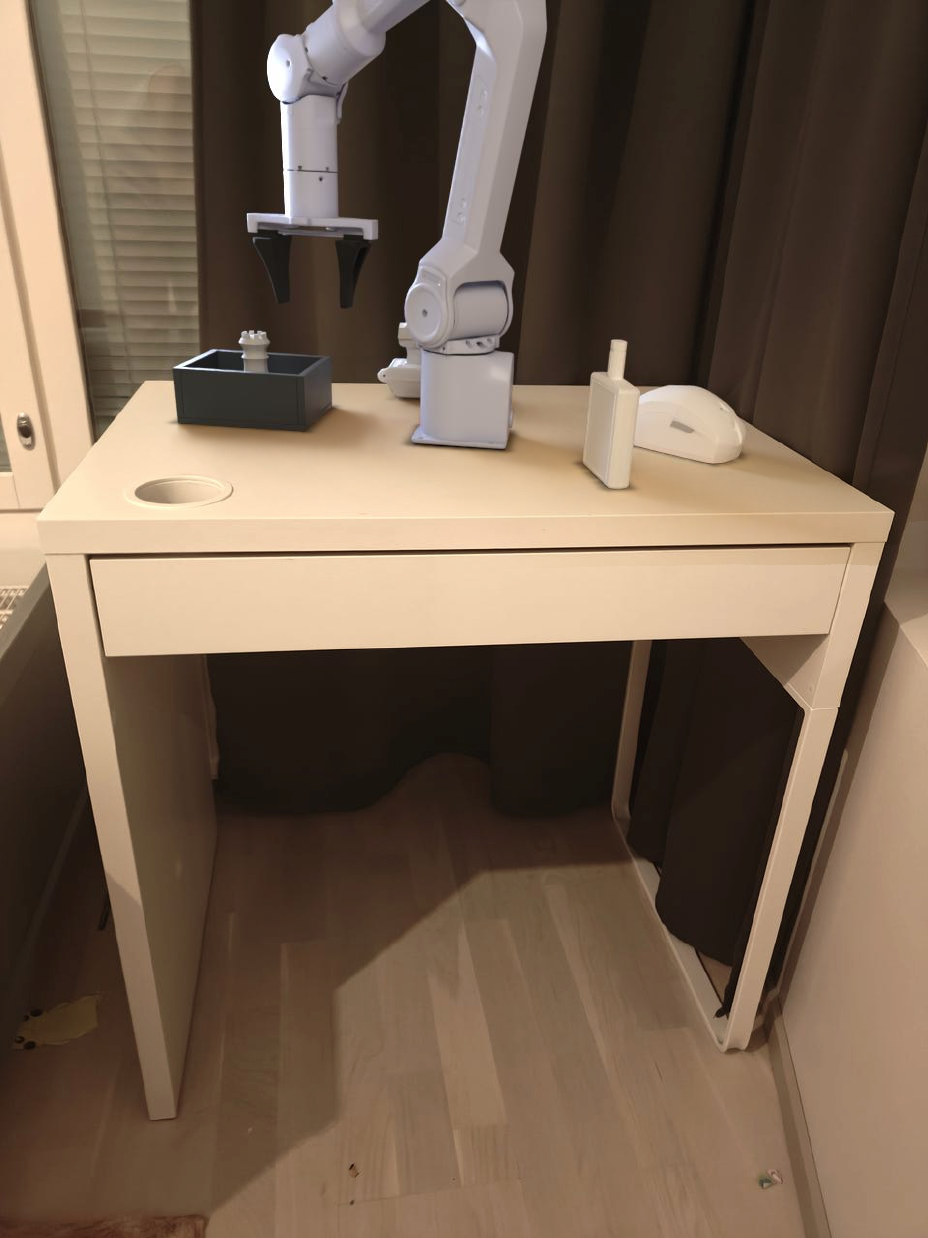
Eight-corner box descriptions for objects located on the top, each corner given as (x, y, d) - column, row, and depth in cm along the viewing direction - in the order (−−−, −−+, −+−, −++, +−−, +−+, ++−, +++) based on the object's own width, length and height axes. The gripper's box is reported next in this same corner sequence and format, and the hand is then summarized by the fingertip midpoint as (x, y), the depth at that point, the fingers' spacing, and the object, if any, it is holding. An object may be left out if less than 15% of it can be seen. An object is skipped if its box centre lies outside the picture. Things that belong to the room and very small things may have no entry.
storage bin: (332, 406, 104) (331, 356, 101) (305, 431, 93) (303, 376, 91) (216, 398, 105) (212, 348, 102) (177, 422, 94) (172, 367, 92)
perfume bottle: (580, 463, 87) (593, 333, 82) (600, 462, 87) (614, 333, 82) (607, 489, 80) (623, 348, 75) (629, 488, 80) (646, 348, 75)
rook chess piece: (287, 408, 99) (284, 332, 96) (258, 415, 96) (254, 337, 92) (257, 402, 101) (253, 327, 98) (228, 409, 98) (222, 332, 95)
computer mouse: (720, 467, 88) (731, 401, 85) (607, 439, 95) (614, 379, 93) (750, 455, 92) (762, 393, 89) (641, 429, 100) (648, 371, 97)
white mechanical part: (452, 392, 113) (455, 321, 110) (450, 403, 107) (452, 329, 104) (380, 388, 113) (380, 318, 110) (374, 400, 107) (374, 326, 104)
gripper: (231, 167, 95) (239, 304, 101) (362, 173, 92) (363, 313, 98) (260, 169, 101) (267, 297, 107) (384, 174, 98) (384, 306, 104)
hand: (314, 305), depth 103 cm, fingers open, 7 cm apart
